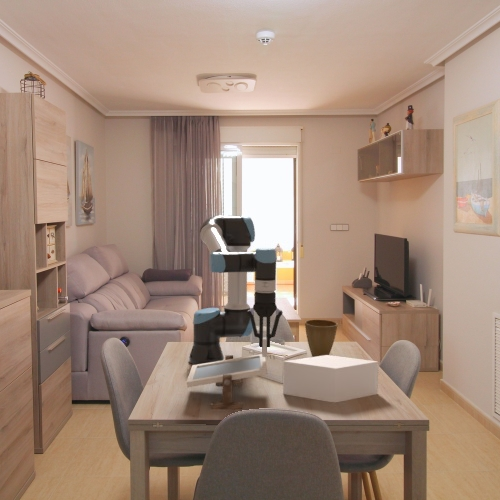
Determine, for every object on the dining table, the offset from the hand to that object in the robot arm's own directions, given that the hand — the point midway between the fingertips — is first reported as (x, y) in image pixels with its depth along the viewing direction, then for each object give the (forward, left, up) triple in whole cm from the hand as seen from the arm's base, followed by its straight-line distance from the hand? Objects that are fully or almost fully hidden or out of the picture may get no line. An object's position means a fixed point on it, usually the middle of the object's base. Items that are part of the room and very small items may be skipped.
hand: (264, 355), depth 190 cm
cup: (-13, +39, -15) cm, 44 cm away
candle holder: (-26, +51, -15) cm, 59 cm away
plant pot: (+2, +59, -15) cm, 60 cm away
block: (+21, +13, -15) cm, 29 cm away
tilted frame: (-12, -6, -6) cm, 14 cm away
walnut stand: (-12, -6, -15) cm, 19 cm away
